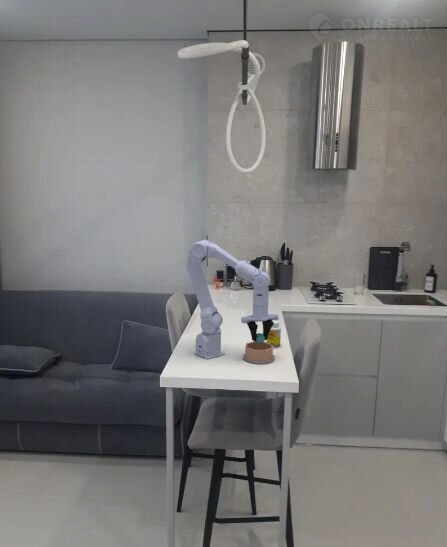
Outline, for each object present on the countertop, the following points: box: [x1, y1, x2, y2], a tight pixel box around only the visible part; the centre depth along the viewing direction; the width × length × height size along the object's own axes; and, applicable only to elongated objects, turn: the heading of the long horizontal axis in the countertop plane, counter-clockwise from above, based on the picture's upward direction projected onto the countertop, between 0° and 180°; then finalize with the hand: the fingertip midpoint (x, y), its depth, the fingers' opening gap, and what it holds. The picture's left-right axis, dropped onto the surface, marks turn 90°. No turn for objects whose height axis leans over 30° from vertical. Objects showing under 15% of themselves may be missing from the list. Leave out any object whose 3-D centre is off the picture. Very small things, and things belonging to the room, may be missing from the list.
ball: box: [255, 332, 266, 344], centre depth 172 cm, size 4×4×4 cm
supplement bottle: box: [266, 320, 282, 349], centre depth 187 cm, size 6×6×10 cm
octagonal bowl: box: [242, 341, 276, 365], centre depth 173 cm, size 12×12×5 cm
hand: (259, 339), depth 172 cm, fingers closed on ball, 4 cm apart
